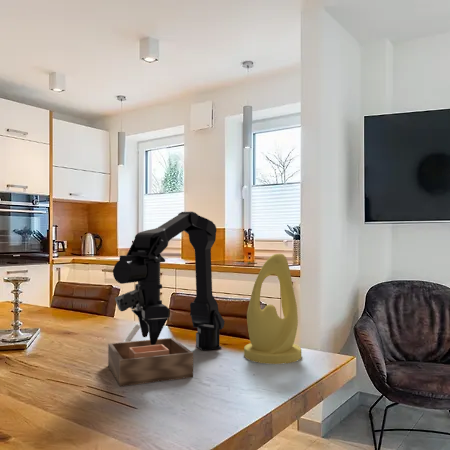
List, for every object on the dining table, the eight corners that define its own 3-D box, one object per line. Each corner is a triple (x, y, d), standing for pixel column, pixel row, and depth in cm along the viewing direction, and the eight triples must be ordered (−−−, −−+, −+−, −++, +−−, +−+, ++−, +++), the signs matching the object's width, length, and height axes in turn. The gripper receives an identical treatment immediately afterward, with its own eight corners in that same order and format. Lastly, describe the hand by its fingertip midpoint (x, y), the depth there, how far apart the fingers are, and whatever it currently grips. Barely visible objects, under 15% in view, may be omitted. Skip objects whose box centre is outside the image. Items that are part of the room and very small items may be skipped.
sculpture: (263, 366, 121) (263, 254, 122) (234, 352, 136) (234, 252, 137) (313, 359, 129) (312, 253, 130) (280, 346, 144) (279, 251, 144)
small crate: (162, 362, 122) (162, 344, 122) (169, 369, 116) (169, 349, 116) (128, 366, 118) (129, 347, 118) (134, 373, 112) (134, 353, 112)
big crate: (172, 358, 129) (172, 337, 129) (193, 377, 112) (193, 352, 112) (108, 365, 122) (108, 343, 122) (119, 386, 105) (120, 360, 105)
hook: (155, 341, 128) (135, 328, 127) (131, 374, 129) (110, 361, 128) (157, 330, 135) (137, 318, 134) (134, 361, 136) (114, 349, 135)
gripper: (111, 278, 123) (111, 336, 123) (124, 285, 106) (124, 352, 105) (152, 276, 127) (151, 332, 127) (170, 283, 110) (170, 347, 110)
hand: (148, 340), depth 117 cm, fingers open, 9 cm apart
